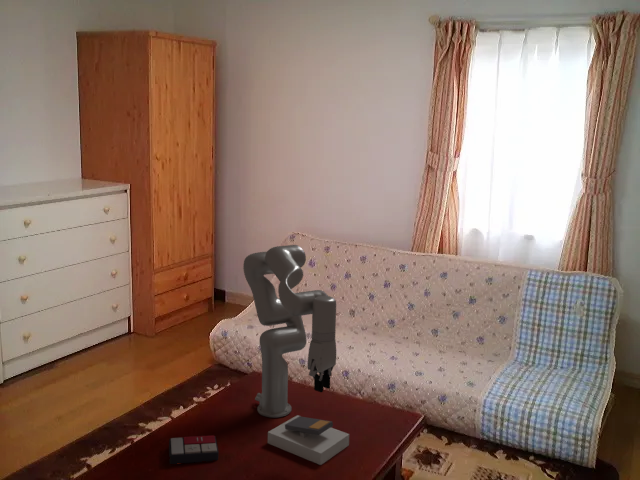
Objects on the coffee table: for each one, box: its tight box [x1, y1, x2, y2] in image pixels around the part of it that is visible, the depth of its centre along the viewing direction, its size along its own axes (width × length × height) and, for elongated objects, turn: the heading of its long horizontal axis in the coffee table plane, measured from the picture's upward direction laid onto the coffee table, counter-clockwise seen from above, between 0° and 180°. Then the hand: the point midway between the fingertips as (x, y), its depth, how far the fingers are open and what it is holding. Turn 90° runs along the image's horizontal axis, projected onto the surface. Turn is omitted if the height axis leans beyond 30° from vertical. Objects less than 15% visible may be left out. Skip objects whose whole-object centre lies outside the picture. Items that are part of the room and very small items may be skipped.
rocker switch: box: [285, 415, 334, 435], centre depth 211 cm, size 14×8×2 cm, turn 54°
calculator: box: [168, 434, 219, 465], centre depth 204 cm, size 11×4×15 cm
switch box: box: [267, 414, 350, 466], centre depth 211 cm, size 22×16×6 cm
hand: (322, 388), depth 205 cm, fingers open, 3 cm apart
